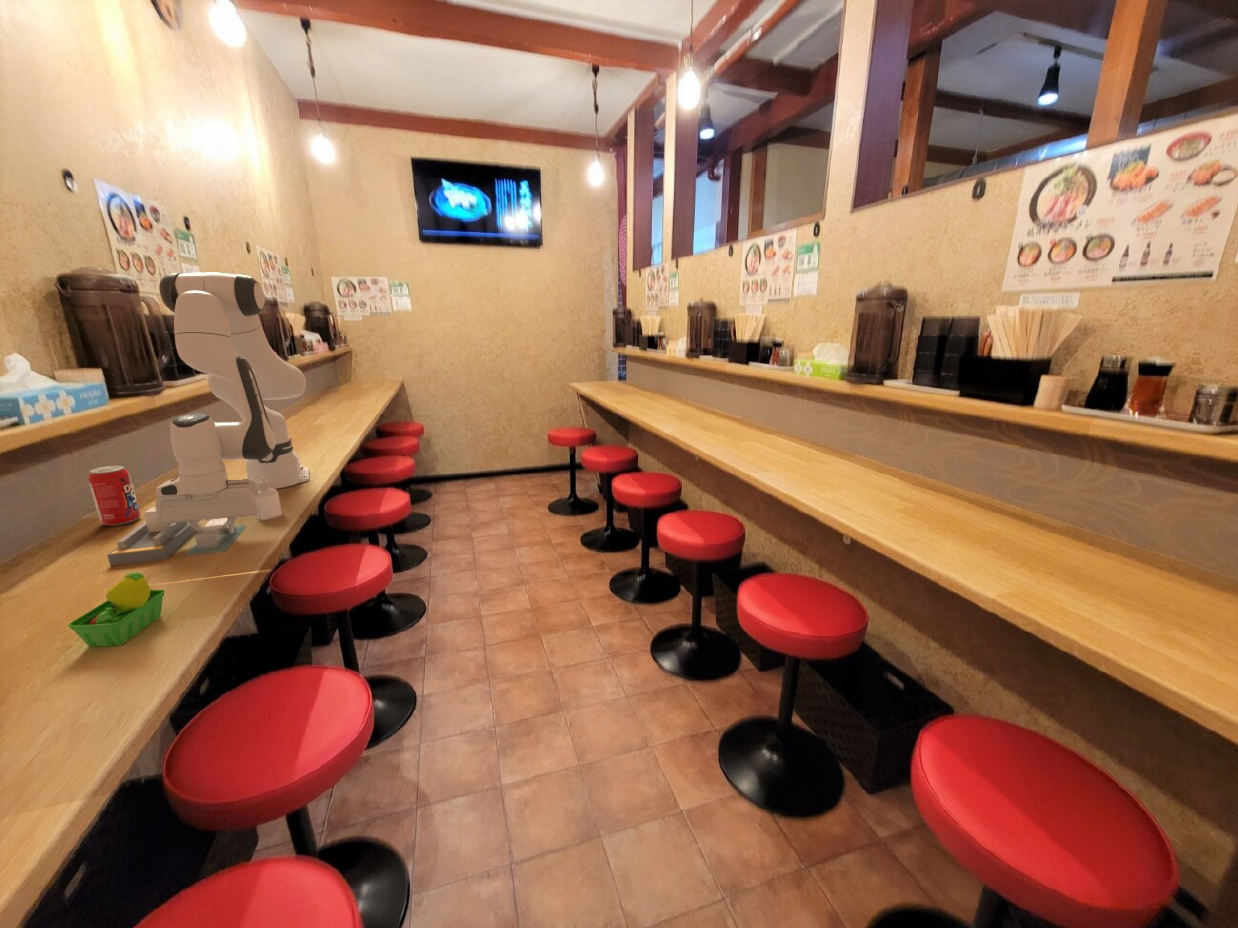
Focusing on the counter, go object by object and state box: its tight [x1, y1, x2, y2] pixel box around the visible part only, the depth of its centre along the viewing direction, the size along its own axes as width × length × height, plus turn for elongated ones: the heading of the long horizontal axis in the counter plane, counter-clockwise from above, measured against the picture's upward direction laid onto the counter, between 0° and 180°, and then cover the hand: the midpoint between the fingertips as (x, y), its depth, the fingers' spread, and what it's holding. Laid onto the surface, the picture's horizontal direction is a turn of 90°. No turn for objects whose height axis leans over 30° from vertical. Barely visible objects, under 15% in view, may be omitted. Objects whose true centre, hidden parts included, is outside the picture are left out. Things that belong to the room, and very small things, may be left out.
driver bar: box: [194, 518, 236, 551], centre depth 125 cm, size 12×4×4 cm, turn 20°
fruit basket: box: [67, 571, 166, 648], centre depth 88 cm, size 11×9×11 cm
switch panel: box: [107, 520, 197, 567], centre depth 121 cm, size 18×10×5 cm, turn 20°
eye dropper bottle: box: [256, 477, 283, 521], centre depth 138 cm, size 4×6×12 cm
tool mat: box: [184, 524, 248, 557], centre depth 125 cm, size 16×8×1 cm, turn 20°
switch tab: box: [143, 506, 171, 533], centre depth 123 cm, size 4×4×5 cm
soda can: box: [87, 465, 142, 527], centre depth 133 cm, size 8×8×15 cm
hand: (216, 534), depth 125 cm, fingers closed on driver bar, 4 cm apart
